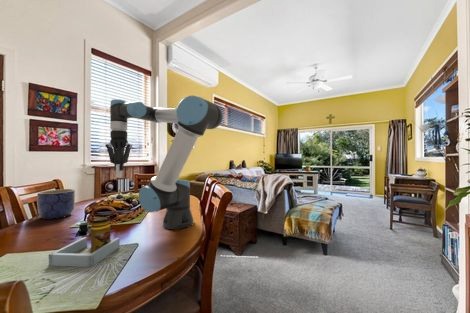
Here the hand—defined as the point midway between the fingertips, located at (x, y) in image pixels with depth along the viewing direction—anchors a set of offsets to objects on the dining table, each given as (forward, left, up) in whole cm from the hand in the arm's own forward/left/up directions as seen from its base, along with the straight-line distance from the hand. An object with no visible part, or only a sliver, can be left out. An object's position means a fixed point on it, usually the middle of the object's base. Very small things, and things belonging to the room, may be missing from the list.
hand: (119, 177), depth 104 cm
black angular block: (+10, +10, -25) cm, 29 cm away
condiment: (-10, +28, -25) cm, 38 cm away
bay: (-9, +32, -25) cm, 41 cm away
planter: (+46, -13, -25) cm, 54 cm away
